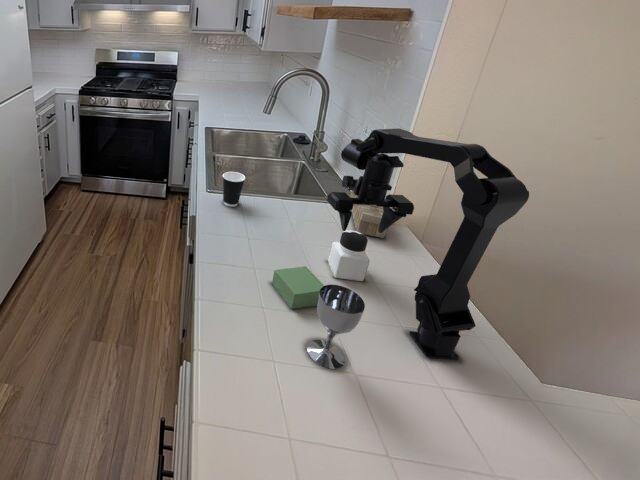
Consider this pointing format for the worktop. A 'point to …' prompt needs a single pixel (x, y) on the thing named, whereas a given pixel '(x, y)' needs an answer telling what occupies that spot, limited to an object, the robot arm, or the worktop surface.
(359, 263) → the medicine bottle
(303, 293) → the green block
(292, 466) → the worktop surface
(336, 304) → the wine glass
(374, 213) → the block tower
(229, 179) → the dixie cup
